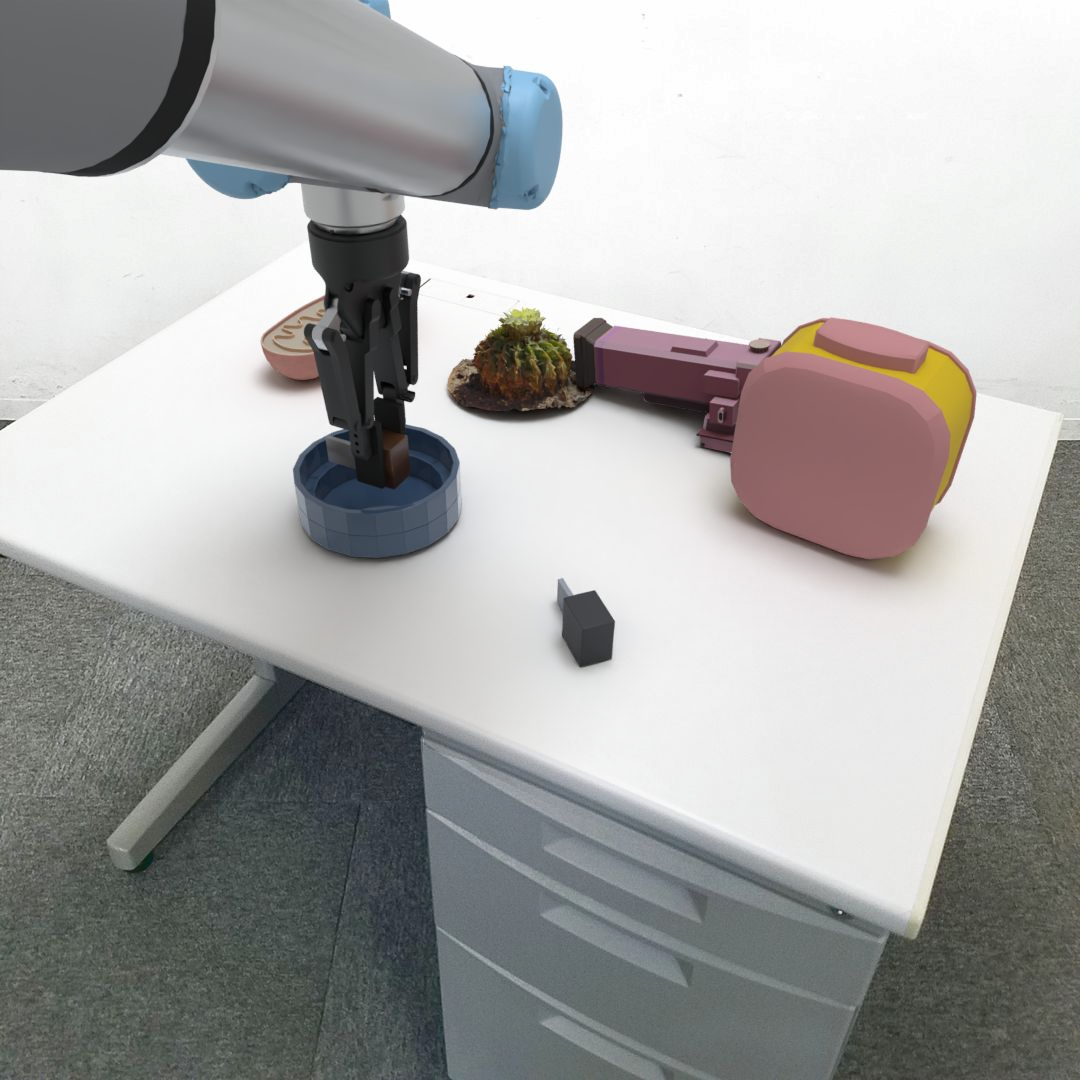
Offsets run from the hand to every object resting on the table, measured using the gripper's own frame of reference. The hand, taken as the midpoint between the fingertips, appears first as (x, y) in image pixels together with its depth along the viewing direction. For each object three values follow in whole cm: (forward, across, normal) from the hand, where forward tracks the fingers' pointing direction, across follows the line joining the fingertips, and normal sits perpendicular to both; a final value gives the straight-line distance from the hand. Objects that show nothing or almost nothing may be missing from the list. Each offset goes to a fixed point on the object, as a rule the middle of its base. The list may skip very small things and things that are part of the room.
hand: (383, 472), depth 87 cm
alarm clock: (+6, +20, -37) cm, 43 cm away
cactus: (+6, +30, +1) cm, 30 cm away
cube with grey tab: (+6, -5, -22) cm, 23 cm away
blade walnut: (0, 0, +2) cm, 2 cm away
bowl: (+6, +1, +2) cm, 6 cm away
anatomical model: (+6, +27, +25) cm, 37 cm away
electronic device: (+6, +32, -18) cm, 38 cm away
